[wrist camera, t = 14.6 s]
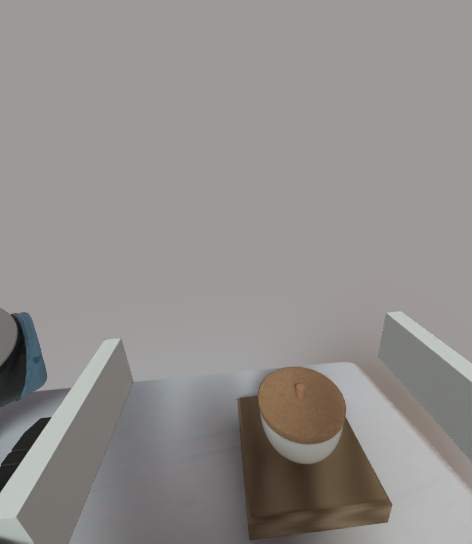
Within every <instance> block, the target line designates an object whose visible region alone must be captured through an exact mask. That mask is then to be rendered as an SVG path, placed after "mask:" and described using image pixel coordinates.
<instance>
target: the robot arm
mask: <svg viewBox="0 0 472 544" xmlns="http://www.w3.org/2000/svg"><path fill="white" fill-rule="evenodd" d="M378 357H379V359H381V361H382V362H383V363H384V364H385V365H386V366H387V367H388V369H389V370H390V371H391V372H392V373H393V374H394V375H395V376H396V378H397V379H398V380H399V381H400V382H401V383H402V384H403V385H404V387H405V388H406V389H407V390H408V391H409V392H410V393H411V394H412V396H413V397H414V398H415V399H416V400H417V401H418V402H419V403H420V405H422V407H423V408H424V409H425V410H426V411H427V412H428V414H429V415H430V416H431V417H432V418H433V419H434V420H435V421H436V422H437V424H438V425H439V426H440V427H441V428H442V429H443V430H444V431H445V433H446V434H447V435H448V436H449V437H450V438H451V439H452V440H453V442H454V443H455V444H456V445H457V446H458V447H459V448H460V449H461V450H462V451H463V453H464V454H465V455H466V456H467V457H468V458H469V459H470V461H471V462H472V364H471V363H470V362H469V361H467V360H466V359H465V358H463V357H462V356H460V355H459V354H458V353H457V352H455V351H454V350H452V349H451V348H450V347H448V346H447V345H446V344H444V343H443V342H442V341H440V340H439V339H438V338H436V337H435V336H433V335H432V334H431V333H429V332H428V331H427V330H425V329H424V328H423V327H421V326H420V325H418V324H417V323H416V322H414V321H413V320H412V319H410V318H409V317H408V316H406V315H405V314H404V313H402V312H400V311H399V312H389V313H386V316H385V321H384V327H383V331H382V337H381V343H380V347H379V353H378ZM46 380H47V373H46V368H45V364H44V360H43V357H42V353H41V348H40V345H39V341H38V338H37V334H36V331H35V328H34V324H33V321H32V318H31V317H30V315H29V314H28V313H25V312H23V313H13V314H11V315H10V314H9V313H8V312H6V311H5V310H3V309H1V308H0V407H2V406H4V405H6V404H8V403H10V402H13V401H18V400H20V399H22V398H23V397H24V396H25V395H27V394H29V393H31V392H33V391H35V390H37V389H39V388H40V387H42V386H43V385H44V383H45V382H46ZM132 384H133V379H132V375H131V372H130V368H129V364H128V361H127V357H126V354H125V350H124V347H123V343H122V340H121V338H116V339H106V340H104V341H103V343H102V344H101V346H100V347H99V349H98V350H97V352H96V353H95V355H94V356H93V358H92V359H91V361H90V362H89V364H88V365H87V366H86V368H85V369H84V371H83V373H82V374H81V375H80V377H79V378H78V380H77V381H76V383H75V384H74V386H73V387H72V388H71V390H70V391H69V393H68V394H67V396H66V397H65V399H64V400H63V402H62V403H61V405H60V406H59V407H58V409H57V410H56V412H55V413H54V415H53V416H52V417H48V418H40V419H39V420H38V421H37V422H36V423H35V424H34V425H33V426H32V427H30V428H29V429H28V430H27V431H26V432H25V433H24V434H23V435H22V437H21V438H20V439H19V441H18V442H17V443H16V445H15V446H14V447H13V449H12V452H11V453H9V454H8V456H7V457H6V458H5V460H4V461H3V462H2V464H1V467H0V544H68V543H69V541H70V539H71V536H72V534H73V531H74V529H75V526H76V524H77V521H78V519H79V516H80V514H81V511H82V509H83V506H84V504H85V501H86V499H87V496H88V494H89V491H90V489H91V486H92V484H93V481H94V479H95V476H96V474H97V471H98V469H99V466H100V464H101V461H102V459H103V456H104V454H105V451H106V449H107V446H108V444H109V441H110V439H111V437H112V434H113V432H114V429H115V427H116V424H117V422H118V419H119V417H120V414H121V412H122V409H123V407H124V404H125V402H126V399H127V397H128V394H129V392H130V389H131V387H132Z"/></svg>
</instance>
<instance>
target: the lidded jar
mask: <svg viewBox="0 0 472 544" xmlns="http://www.w3.org/2000/svg"><path fill="white" fill-rule="evenodd" d="M258 405H259V409H260V418H261V422H262V426H263V429H264V432H265V434H266V437H267V439H268V440H269V442H270V443H271V445H272V446H273V447H274V449H275V450H276V451H277V452H278V453H279V454H281V455H282V456H283V457H285V458H286V459H288V460H290V461H293V462H296V463H299V464H313V463H317V462H320V461H322V460H324V459H325V458H327V457H328V456H329V455H330V454H331V453H332V452H333V451H334V449H335V447H336V446H337V444H338V442H339V439H340V436H341V434H342V429H343V424H344V421H345V415H346V404H345V400H344V398H343V395H342V393H341V392H340V390H339V389H338V387H337V386H336V385H335V384H334V383H333V382H332V381H331V380H330V379H328V378H327V377H326V376H324V375H322V374H320V373H318V372H316V371H314V370H311V369H307V368H302V367H287V368H282V369H279V370H277V371H274V372H273V373H271V374H270V375H268V376H267V377H266V378H265V379H264V381H263V382H262V384H261V386H260V388H259V391H258Z"/></svg>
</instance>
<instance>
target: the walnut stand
mask: <svg viewBox="0 0 472 544" xmlns="http://www.w3.org/2000/svg"><path fill="white" fill-rule="evenodd" d="M237 400H238V412H239V423H240V435H241V447H242V459H243V470H244V482H245V494H246V506H247V518H248V528H249V539H250V540H256V539H264V538H271V537H279V536H286V535H294V534H302V533H309V532H317V531H325V530H332V529H340V528H348V527H355V526H363V525H370V524H378V523H386V522H388V519H389V515H390V511H391V508H392V503H391V501H390V500H389V498H388V496H387V494H386V492H385V490H384V488H383V486H382V485H381V483H380V481H379V479H378V477H377V475H376V473H375V471H374V470H373V468H372V466H371V464H370V462H369V460H368V458H367V456H366V455H365V453H364V451H363V449H362V447H361V445H360V443H359V441H358V440H357V438H356V436H355V434H354V432H353V430H352V428H351V426H350V425H349V423H348V421H347V419H346V417H345V421H344V424H343V429H342V434H341V436H340V439H339V442H338V444H337V446H336V447H335V449H334V451H333V452H332V453H331V454H330V455H329V456H328V457H327V458H325V459H324V460H322V461H320V462H317V463H313V464H299V463H296V462H293V461H290V460H288V459H286V458H285V457H283V456H282V455H281V454H279V453H278V452H277V451H276V450H275V449H274V447H273V446H272V445H271V443H270V442H269V440H268V439H267V437H266V434H265V432H264V429H263V426H262V422H261V418H260V409H259V405H258V396H256V397H247V398H240V399H237Z"/></svg>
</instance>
